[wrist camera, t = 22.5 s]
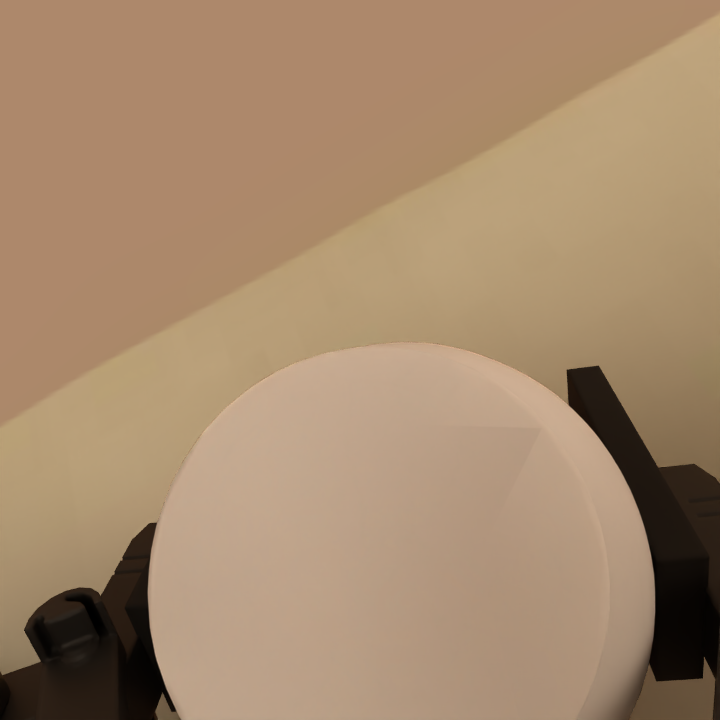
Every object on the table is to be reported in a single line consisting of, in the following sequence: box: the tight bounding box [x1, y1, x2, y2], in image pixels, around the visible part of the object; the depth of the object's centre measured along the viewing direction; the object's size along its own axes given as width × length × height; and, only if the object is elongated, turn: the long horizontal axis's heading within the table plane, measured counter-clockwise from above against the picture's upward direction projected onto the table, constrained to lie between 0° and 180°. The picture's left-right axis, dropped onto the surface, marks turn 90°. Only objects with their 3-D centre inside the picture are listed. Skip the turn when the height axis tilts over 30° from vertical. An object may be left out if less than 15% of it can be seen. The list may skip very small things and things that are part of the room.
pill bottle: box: [148, 342, 655, 720], centre depth 14 cm, size 8×8×14 cm
